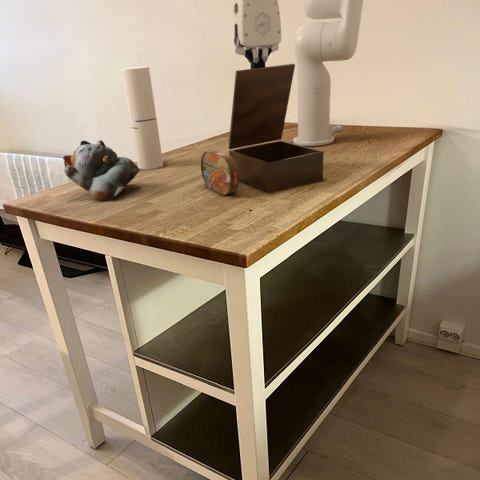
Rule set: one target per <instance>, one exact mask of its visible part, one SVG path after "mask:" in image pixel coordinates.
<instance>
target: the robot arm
mask: <svg viewBox="0 0 480 480" xmlns="http://www.w3.org/2000/svg"><path fill="white" fill-rule="evenodd" d="M363 4H364V0H304V2H303V7H304V8H303V9H304V14H305V15H306V17H307V18H309V19H312V20H330V19H341V20H335V21H317V22H309V23H305V24H303V25H300V27H298V29H296V31H295V32H294V33H295V34H294V36H293V37H294V38H293V48H294V54H295V59H296V71H297V72H296V73H297V136H295V137H293V140H292V143H293V144H297V145H300V146H304V147H319V146H320V147H321V146H325V145H330V144H332V143H334V142H335V136H334V135H333V134H334V133H340V132H342V130H343V126H342V125H341V124H338V125H334V126H333V124H330V118H331V86H332V85H331V84H332V83H331V82H332V81H331V80H332V79H331V75H330V72H329V70H328V69H327V67H326V66H325V64H324V62H325V63H326V62H342V61H348V60H350V59H352V58H353V57H354V55H355V53H356V50H357V47H358V40H359V34H360V26H361V21H362V11H363ZM232 8H233V12H232V34H233V44H234V46H235V49H234V50H235V51H234V52H235V55H239V56H243V57H245V58H246V59H247V62H248V63H249V64H250V69H255V68H263V67H266V63H267V62H268V58H269V57H270V55H271V54H272V53H274V52H277V51H278V50H279V48H280V46H279V44H280V43H281V42H282V23H281V13H280V5H279V0H234V1H233V7H232Z"/></svg>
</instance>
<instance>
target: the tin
mask: <svg viewBox="0 0 480 480" xmlns="http://www.w3.org/2000/svg"><path fill="white" fill-rule="evenodd" d="M200 172H201V176H202V180H203V183H204V185H205V186H206V187H207V188H208V189H210V190H212V191H215V192H216V193H218V194H221V195H222V196H225V195H229V194H235V193H236V192H237V191H238V189H239V186H240V181H239V169H238V165H237V163H236V161H235V159H234V158H233V157H231V156H230V155H228V154H226V153H222V152H220V151H216V150H214V151H212V150H211V151H204V152H203V154H202V155H201V159H200Z"/></svg>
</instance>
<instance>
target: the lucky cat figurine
mask: <svg viewBox="0 0 480 480" xmlns="http://www.w3.org/2000/svg"><path fill="white" fill-rule="evenodd" d="M62 159H63V164H64V169H63V172H64V174H65V176H66V177H67V178H68V179H69V180H70V181H72V182H73V183H75V184H76V185H77V186H78V187H80V188H82V189H84V190H85V191H87V192H88V193H90V194H91V195H92V197H93V198H94V199H95V200H98V201H100V202H101V201H112V200H113V199H114V198H115V197H116V196H118V195H119V194H120V193H121V192H122V191H123V190H124V189H125V188H126V186H127V185H128V184H130V182H131V181H132V180H134V179H135V177H136V176H137V175H138V173H140V171H141V169H139V168H138V165H137V164H136V163H135V162H134V161H133V160H132V159H131V158H128V157H126V156H120V157H119V156H118V153H116V151H114V150H113V148H111V147H109V146H107V145H106V144H105V142H104V141H103V140H102V139H100V140H99V139H98V140H97V141H96V142H95V143H92V142H89V141H87V140H81V141H80V143H79V145H78V146H77V147H76V149H75V150H74V151H73V153H72V154H70V155H69V154H68V155H67V154H65V155H63V156H62Z"/></svg>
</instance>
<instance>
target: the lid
mask: <svg viewBox="0 0 480 480" xmlns="http://www.w3.org/2000/svg"><path fill="white" fill-rule="evenodd" d="M295 69H296V64H294V63H288V64H280V65H272V66H265V67H263V68H255V69H251V68H247V69H239V70H235V76H234V85H233V96H232V106H231V115H230V126H229V127H230V128H229V137H228V138H229V139H228V150H235V149H240V148H245V147H250V146H255V145H260V144H265V143H270V142H275V141H280V140H282V139H283V133H284V127H285V121H286V118H287V117H286V115H287V111H288V105H289V100H290V96H291V95H290V94H291V90H292V84H293V79H294V73H295Z"/></svg>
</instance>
